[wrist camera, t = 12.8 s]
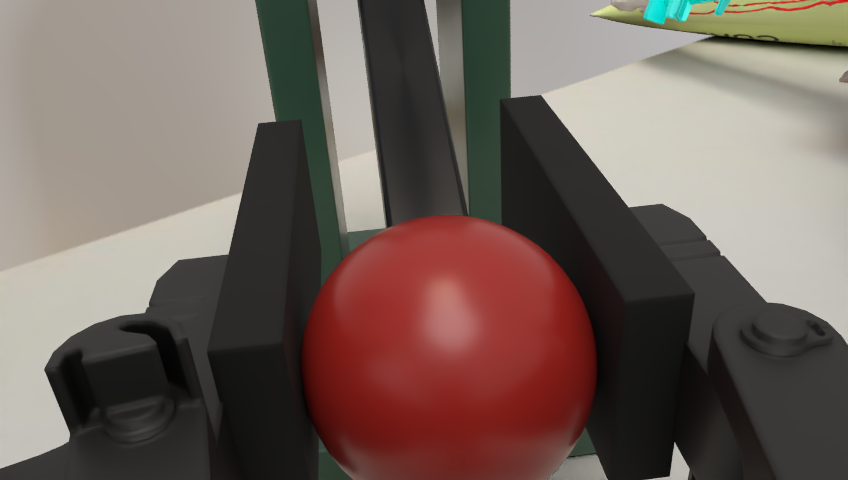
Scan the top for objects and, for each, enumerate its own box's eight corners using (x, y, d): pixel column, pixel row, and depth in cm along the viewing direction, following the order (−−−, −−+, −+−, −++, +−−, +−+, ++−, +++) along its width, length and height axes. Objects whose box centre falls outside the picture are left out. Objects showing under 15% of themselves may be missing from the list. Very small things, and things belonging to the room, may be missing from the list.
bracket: (623, 451, 17) (689, -253, 11) (235, 502, 17) (41, -208, 10) (524, 241, 26) (526, -220, 19) (267, 271, 25) (174, -194, 19)
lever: (602, 528, 10) (675, 425, 7) (326, 567, 10) (280, 478, 7) (444, -79, 18) (446, -245, 15) (294, -67, 18) (266, -233, 15)
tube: (945, 73, 41) (618, 55, 53) (967, -10, 42) (638, -10, 54) (945, 23, 37) (588, 16, 49) (971, -70, 37) (611, -55, 49)
